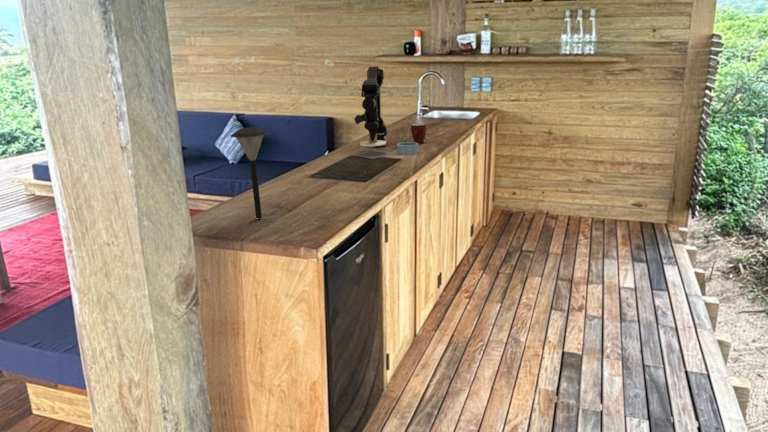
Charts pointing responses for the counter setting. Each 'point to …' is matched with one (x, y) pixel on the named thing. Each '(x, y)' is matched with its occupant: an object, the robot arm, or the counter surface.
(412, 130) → the mug
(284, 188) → the counter surface
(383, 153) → the mat
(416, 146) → the bowl
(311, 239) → the counter surface
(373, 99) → the robot arm
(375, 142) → the lid
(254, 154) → the solar garden light
